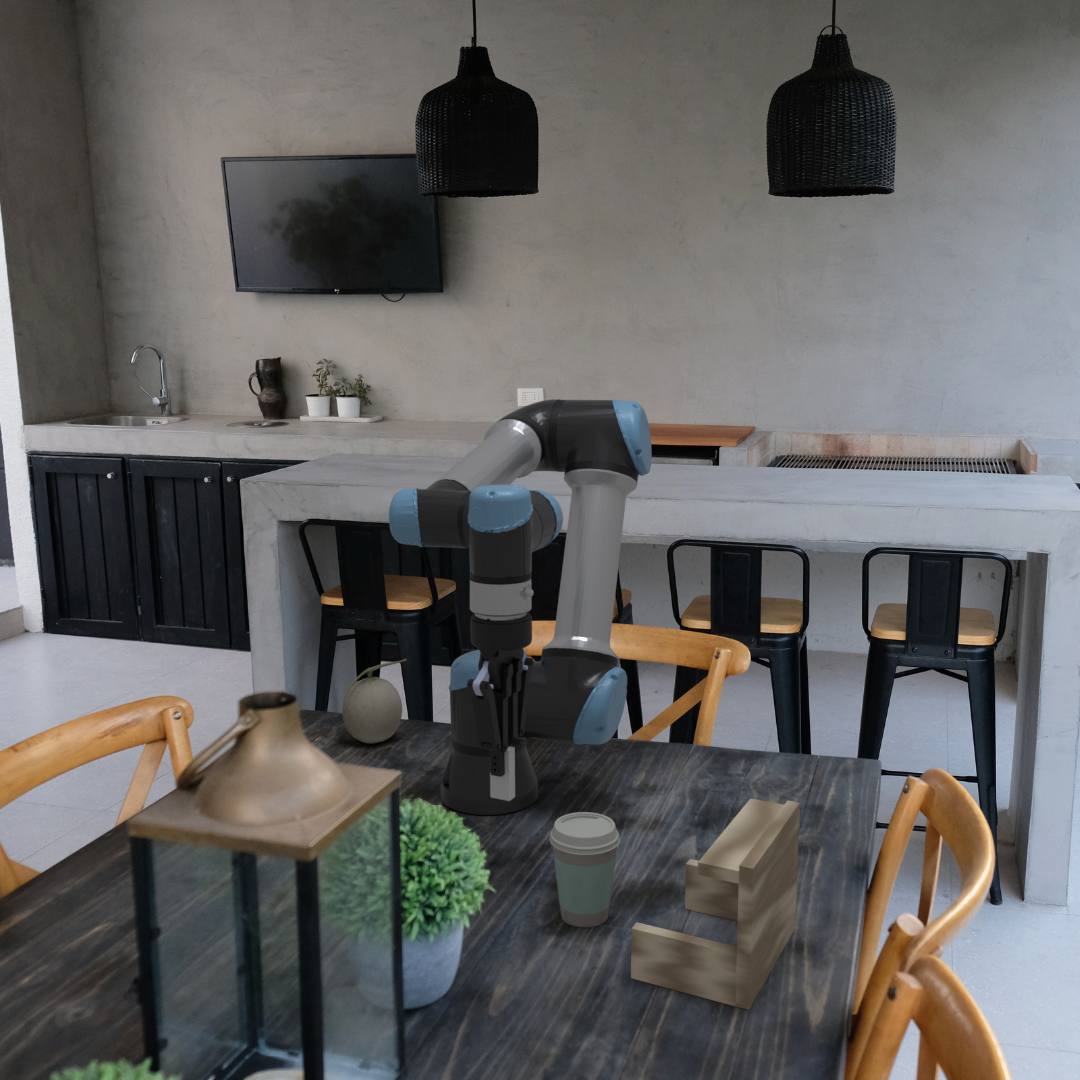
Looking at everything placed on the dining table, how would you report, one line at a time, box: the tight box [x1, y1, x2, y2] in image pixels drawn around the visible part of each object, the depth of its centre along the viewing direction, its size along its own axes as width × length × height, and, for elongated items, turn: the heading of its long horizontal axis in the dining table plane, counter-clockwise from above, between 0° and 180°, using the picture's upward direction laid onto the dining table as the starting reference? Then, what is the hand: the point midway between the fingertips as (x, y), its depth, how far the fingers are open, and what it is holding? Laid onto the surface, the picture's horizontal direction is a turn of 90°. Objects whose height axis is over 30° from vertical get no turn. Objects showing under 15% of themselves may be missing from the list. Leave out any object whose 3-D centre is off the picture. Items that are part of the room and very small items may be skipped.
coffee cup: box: [549, 811, 621, 928], centre depth 138 cm, size 8×9×12 cm
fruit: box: [341, 658, 407, 744], centre depth 199 cm, size 10×12×15 cm
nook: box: [630, 798, 801, 1011], centre depth 129 cm, size 14×19×16 cm
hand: (502, 796), depth 141 cm, fingers closed
